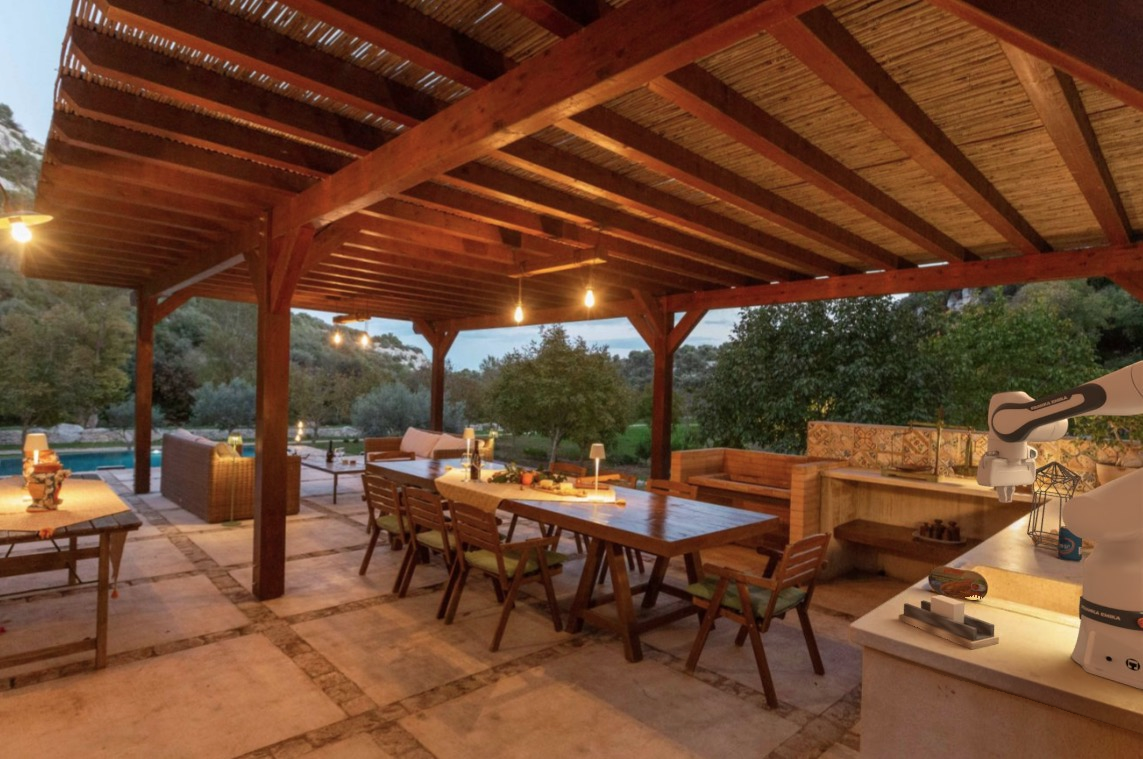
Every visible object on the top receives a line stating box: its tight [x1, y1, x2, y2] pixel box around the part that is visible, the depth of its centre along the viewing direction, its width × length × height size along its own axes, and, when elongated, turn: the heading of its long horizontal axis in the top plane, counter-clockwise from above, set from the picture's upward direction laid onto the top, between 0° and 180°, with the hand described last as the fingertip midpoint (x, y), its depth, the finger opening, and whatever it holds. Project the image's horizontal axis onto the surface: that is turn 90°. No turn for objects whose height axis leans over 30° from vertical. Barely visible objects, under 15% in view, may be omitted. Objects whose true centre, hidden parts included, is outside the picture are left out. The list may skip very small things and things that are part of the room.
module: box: [930, 594, 965, 624], centre depth 156 cm, size 6×4×6 cm, turn 25°
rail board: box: [898, 600, 1000, 650], centre depth 156 cm, size 19×10×4 cm, turn 25°
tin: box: [928, 565, 989, 600], centre depth 184 cm, size 15×3×8 cm, turn 50°
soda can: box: [1057, 525, 1083, 563], centre depth 232 cm, size 7×7×12 cm
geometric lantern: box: [1026, 461, 1083, 552], centre depth 251 cm, size 16×16×35 cm
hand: (1005, 502), depth 167 cm, fingers closed
